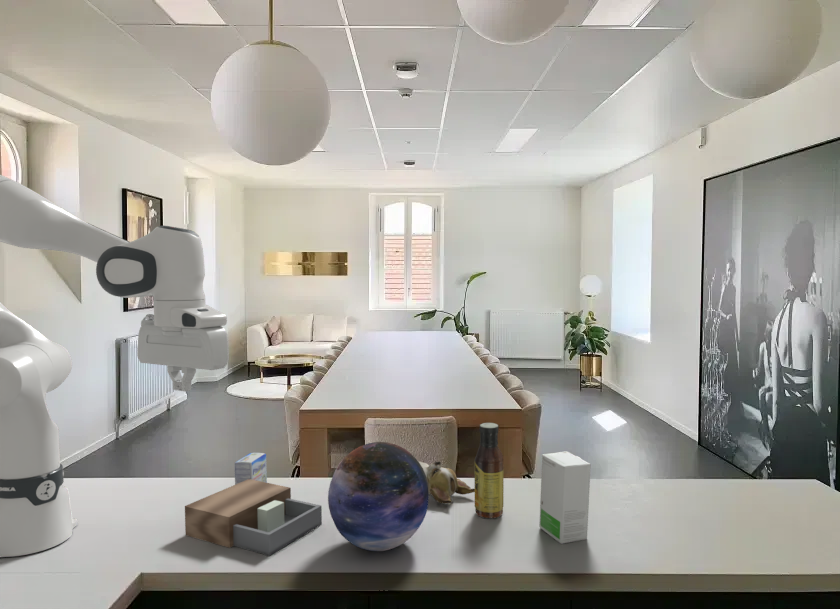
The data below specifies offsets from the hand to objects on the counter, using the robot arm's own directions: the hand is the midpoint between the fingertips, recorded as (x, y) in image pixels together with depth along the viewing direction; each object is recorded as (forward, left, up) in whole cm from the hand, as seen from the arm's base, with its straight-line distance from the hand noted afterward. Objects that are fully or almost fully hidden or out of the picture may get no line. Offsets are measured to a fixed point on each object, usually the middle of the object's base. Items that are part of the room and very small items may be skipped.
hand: (182, 390), depth 114 cm
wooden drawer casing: (-1, +15, -31) cm, 34 cm away
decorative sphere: (+30, +20, -31) cm, 48 cm away
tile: (+6, +15, -28) cm, 32 cm away
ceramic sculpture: (+29, +48, -32) cm, 65 cm away
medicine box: (-12, +30, -31) cm, 45 cm away
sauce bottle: (+43, +44, -31) cm, 69 cm away
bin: (+10, +15, -31) cm, 36 cm away
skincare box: (+60, +42, -31) cm, 80 cm away
